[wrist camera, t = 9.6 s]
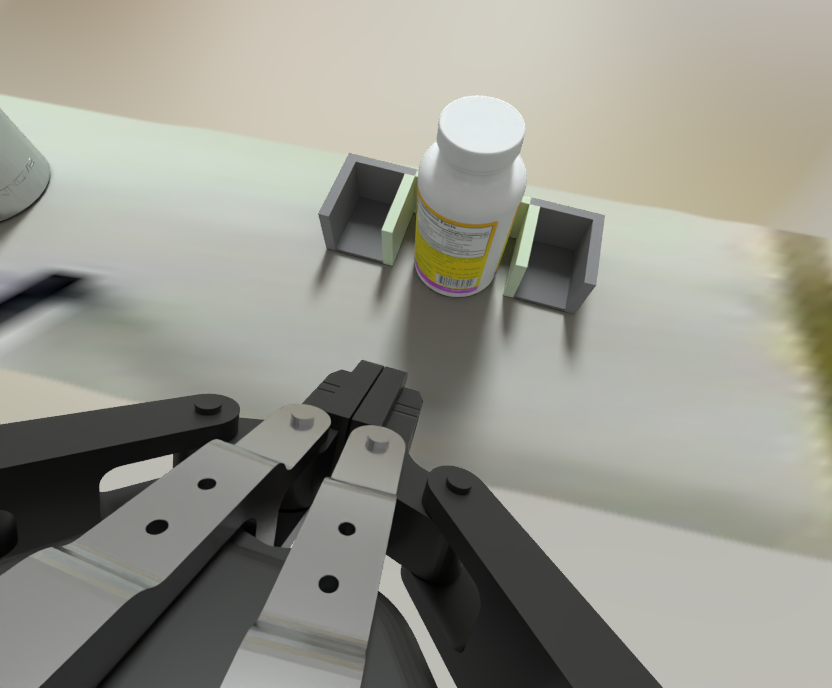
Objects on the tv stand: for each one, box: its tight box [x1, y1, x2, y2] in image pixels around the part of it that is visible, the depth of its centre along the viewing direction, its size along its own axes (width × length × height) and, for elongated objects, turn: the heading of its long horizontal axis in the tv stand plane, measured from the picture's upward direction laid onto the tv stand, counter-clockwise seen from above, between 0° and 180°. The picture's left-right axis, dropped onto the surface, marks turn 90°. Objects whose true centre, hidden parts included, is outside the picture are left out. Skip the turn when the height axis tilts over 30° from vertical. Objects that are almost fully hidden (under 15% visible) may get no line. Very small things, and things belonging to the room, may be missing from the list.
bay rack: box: [318, 153, 605, 314], centre depth 33 cm, size 20×6×4 cm, turn 74°
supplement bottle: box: [414, 95, 527, 297], centre depth 29 cm, size 7×7×13 cm
